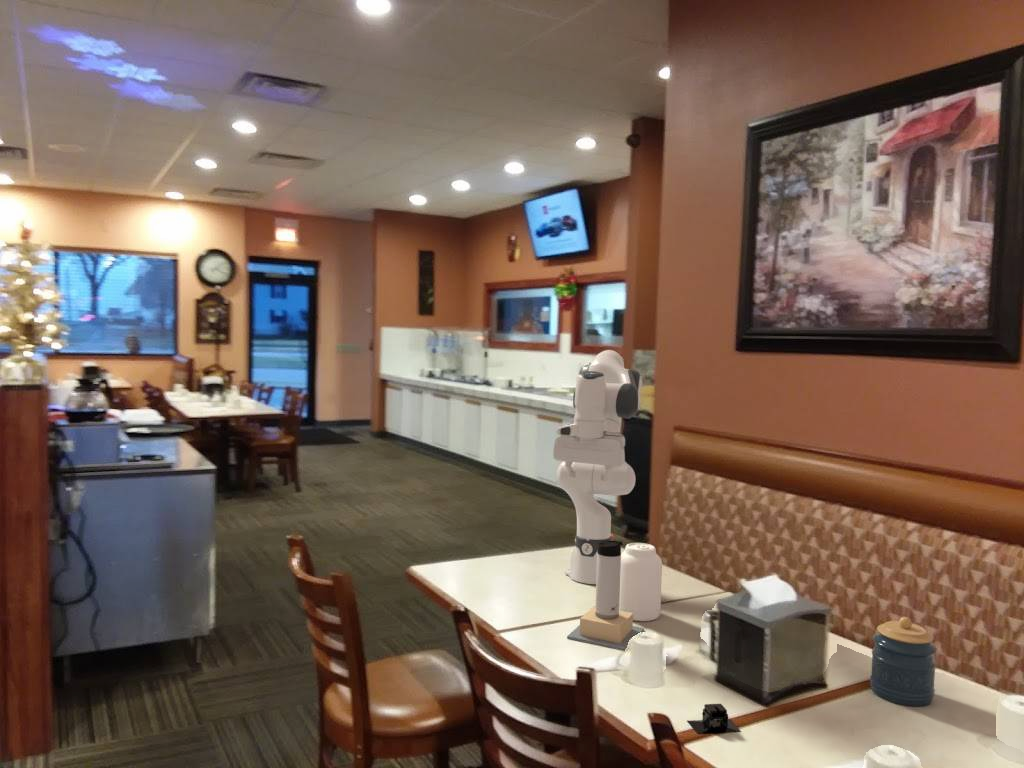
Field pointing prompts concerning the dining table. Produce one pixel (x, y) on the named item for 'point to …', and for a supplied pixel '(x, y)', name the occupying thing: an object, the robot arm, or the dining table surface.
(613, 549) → the travel mug
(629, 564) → the white jar
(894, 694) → the canister
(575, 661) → the dining table surface
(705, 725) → the build plate
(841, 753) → the dining table surface
